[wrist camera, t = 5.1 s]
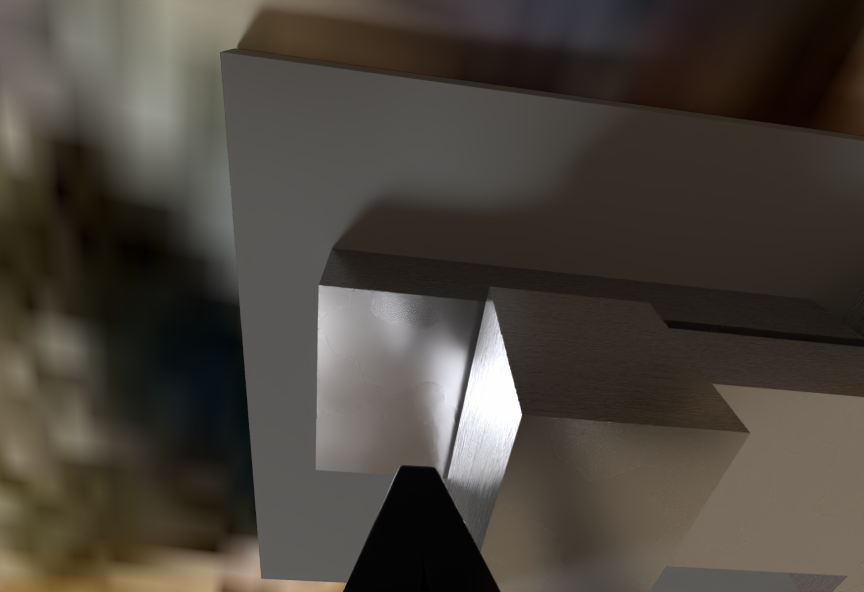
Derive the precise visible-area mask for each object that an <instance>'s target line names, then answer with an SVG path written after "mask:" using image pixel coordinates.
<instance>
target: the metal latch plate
mask: <svg viewBox="0 0 864 592" xmlns="http://www.w3.org/2000/svg"><path fill="white" fill-rule="evenodd" d="M446 488H447V489H448V491H449V493H450V495H451V497H452V499H453V501H454V503H455V505H456V507H457V509H458V511H459V512H460V514H461V516H462V518H463V520H464V522H465V524H466V526H467V528H468V530H469V532H470V534H471V535H472V537H473V539H474V541H475V543H476V545H477V547H478V549H479V551H480V553H481V555H482V557H483V558H484V560H485V562H486V564H487V566H488V568H489V570H490V572H491V574H492V576H493V578H494V580H495V581H496V583H497V585H498V587H499V589H500V591H501V592H650V590H651V589H652V587H653V586H654V584H655V582H656V581H657V579H658V578H659V576H660V575H661V573H662V571H663V570H664V568H665V567H666V566H672V567H691V568H710V569H729V570H747V571H766V572H785V573H788V574H789V575H790V577H791V578H792V580H793V582H794V583H795V585H796V586H797V588H798V589H799V591H800V592H864V347H857V346H847V345H836V344H826V343H816V342H806V341H796V340H785V339H775V338H765V337H755V336H745V335H734V334H724V333H714V332H704V331H694V330H683V329H673V328H668V326H667V325H666V324H665V323H664V321H663V320H662V319H661V317H660V316H659V315H658V314H657V312H656V311H655V310H654V308H653V307H652V306H651V305H650V303H646V302H636V301H627V300H617V299H607V298H597V297H588V296H578V295H568V294H558V293H549V292H539V291H529V290H519V289H509V288H500V287H490V286H489V290H488V294H487V299H486V303H485V308H484V313H483V317H482V322H481V326H480V331H479V336H478V340H477V345H476V349H475V354H474V359H473V363H472V368H471V372H470V377H469V382H468V386H467V391H466V395H465V400H464V405H463V409H462V414H461V418H460V423H459V428H458V432H457V437H456V442H455V446H454V451H453V455H452V460H451V465H450V469H449V474H448V478H447V483H446Z"/></svg>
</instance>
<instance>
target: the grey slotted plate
mask: <svg viewBox="0 0 864 592" xmlns="http://www.w3.org/2000/svg"><path fill="white" fill-rule="evenodd" d="M489 286H490V287H500V288H509V289H519V290H529V291H539V292H549V293H558V294H568V295H578V296H588V297H597V298H607V299H617V300H627V301H636V302H646V303H650V305H651V306H652V307H653V308H654V310H655V311H656V312H657V314H658V315H659V316H660V317H661V319H662V320H663V321H664V323H665V324H666V325H667V326H668V328H673V329H683V330H694V331H704V332H714V333H724V334H734V335H745V336H755V337H765V338H775V339H785V340H796V341H806V342H816V343H826V344H836V345H847V346H857V347H864V285H863V287H862V288H861V290H860V291H859V293H858V294H857V296H856V298H855V299H854V301H853V302H852V304H851V305H850V307H849V308H848V310H847V311H846V313H845V314H844V316H843V317H842V319H841V320H839V319H838V318H836V317H835V316H834V315H832V314H831V313H830V312H828V311H827V310H826V309H824V308H823V307H822V306H820V305H819V304H818V303H816V302H815V301H814V300H812V299H805V298H796V297H786V296H777V295H768V294H758V293H749V292H739V291H730V290H721V289H711V288H702V287H692V286H683V285H674V284H664V283H655V282H645V281H636V280H626V279H617V278H608V277H598V276H589V275H579V274H570V273H561V272H551V271H542V270H532V269H523V268H514V267H504V266H495V265H485V264H476V263H467V262H457V261H448V260H438V259H429V258H420V257H410V256H401V255H391V254H382V253H373V252H363V251H354V250H344V249H335V248H332V249H331V252H330V254H329V257H328V260H327V263H326V266H325V269H324V271H323V274H322V277H321V280H320V283H319V294H318V356H317V418H316V470H325V471H340V472H355V473H370V474H385V475H396V472H397V470H398V468H399V467H400V466H401V465H414V466H432V467H435V468H436V469H437V471H438V472H439V474H440V476H441V478H444V479H447V478H448V474H449V469H450V465H451V460H452V455H453V451H454V446H455V442H456V437H457V432H458V428H459V423H460V418H461V414H462V409H463V405H464V400H465V395H466V391H467V386H468V382H469V377H470V372H471V368H472V363H473V359H474V354H475V349H476V345H477V340H478V336H479V331H480V326H481V322H482V317H483V313H484V308H485V303H486V299H487V294H488V290H489Z"/></svg>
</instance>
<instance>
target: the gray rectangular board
mask: <svg viewBox="0 0 864 592" xmlns="http://www.w3.org/2000/svg"><path fill="white" fill-rule="evenodd" d="M220 57H221V70H222V83H223V95H224V108H225V121H226V134H227V146H228V159H229V172H230V185H231V197H232V210H233V223H234V236H235V248H236V261H237V274H238V287H239V299H240V312H241V325H242V338H243V350H244V363H245V376H246V389H247V401H248V414H249V427H250V440H251V453H252V465H253V478H254V491H255V504H256V516H257V529H258V542H259V555H260V567H261V579H280V580H301V581H322V582H344V583H347V582H348V580H349V577H350V575H351V573H352V571H353V569H354V566H355V564H356V562H357V560H358V557H359V555H360V553H361V551H362V548H363V546H364V544H365V542H366V540H367V537H368V535H369V533H370V531H371V528H372V526H373V524H374V522H375V519H376V517H377V515H378V513H379V510H380V508H381V506H382V504H383V502H384V499H385V497H386V495H387V493H388V490H389V488H390V486H391V484H392V481H393V479H394V477H395V475H385V474H370V473H355V472H340V471H325V470H316V418H317V356H318V294H319V283H320V280H321V277H322V274H323V271H324V269H325V266H326V263H327V260H328V257H329V254H330V252H331V249H332V248H335V249H344V250H354V251H363V252H373V253H382V254H391V255H401V256H410V257H420V258H429V259H438V260H448V261H457V262H467V263H476V264H485V265H495V266H504V267H514V268H523V269H532V270H542V271H551V272H561V273H570V274H579V275H589V276H598V277H608V278H617V279H626V280H636V281H645V282H655V283H664V284H674V285H683V286H692V287H702V288H711V289H721V290H730V291H739V292H749V293H758V294H768V295H777V296H786V297H796V298H805V299H812V300H814V301H815V302H816V303H818V304H819V305H820V306H822V307H823V308H824V309H826V310H827V311H828V312H830V313H831V314H832V315H834V316H835V317H836V318H838V319H839V320H841V319H842V317H843V316H844V314H845V313H846V311H847V310H848V308H849V307H850V305H851V304H852V302H853V301H854V299H855V298H856V296H857V294H858V293H859V291H860V290H861V288H862V287H863V285H864V136H860V135H853V134H845V133H838V132H831V131H824V130H817V129H810V128H802V127H795V126H788V125H781V124H774V123H766V122H759V121H752V120H745V119H738V118H731V117H723V116H716V115H709V114H702V113H695V112H687V111H680V110H673V109H666V108H659V107H652V106H644V105H637V104H630V103H623V102H616V101H608V100H601V99H594V98H587V97H580V96H572V95H565V94H558V93H551V92H544V91H537V90H529V89H522V88H515V87H508V86H501V85H493V84H486V83H479V82H472V81H465V80H458V79H450V78H443V77H436V76H429V75H422V74H414V73H407V72H400V71H393V70H386V69H379V68H371V67H364V66H357V65H350V64H343V63H335V62H328V61H321V60H314V59H307V58H300V57H292V56H285V55H278V54H271V53H264V52H256V51H249V50H242V49H231V50H227V51H222V52H220ZM442 480H443V482H444V484H445V486H446V483H447V479H444V478H442ZM650 592H800V591H799V589H798V588H797V586H796V585H795V583H794V582H793V580H792V578H791V577H790V575H789V574H788V573H785V572H766V571H747V570H729V569H710V568H691V567H672V566H666V567H665V568H664V570H663V571H662V573H661V575H660V576H659V578H658V579H657V581H656V582H655V584H654V586H653V587H652V589H651V590H650Z"/></svg>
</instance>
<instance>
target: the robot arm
mask: <svg viewBox="0 0 864 592" xmlns="http://www.w3.org/2000/svg"><path fill="white" fill-rule="evenodd" d="M343 592H501V591H500V589H499V587H498V585H497V583H496V581H495V580H494V578H493V576H492V574H491V572H490V570H489V568H488V566H487V564H486V562H485V560H484V558H483V557H482V555H481V553H480V551H479V549H478V547H477V545H476V543H475V541H474V539H473V537H472V535H471V534H470V532H469V530H468V528H467V526H466V524H465V522H464V520H463V518H462V516H461V514H460V512H459V511H458V509H457V507H456V505H455V503H454V501H453V499H452V497H451V495H450V493H449V491H448V489H447V488H446V486H445V484H444V482H443V480H442V478H441V476H440V474H439V472H438V471H437V469H436V468H435V467H432V466H414V465H401V466H400V467H399V468H398V470H397V472H396V475H395V477H394V479H393V481H392V484H391V486H390V488H389V490H388V493H387V495H386V497H385V499H384V502H383V504H382V506H381V508H380V510H379V513H378V515H377V517H376V519H375V522H374V524H373V526H372V528H371V531H370V533H369V535H368V537H367V540H366V542H365V544H364V546H363V548H362V551H361V553H360V555H359V557H358V560H357V562H356V564H355V566H354V569H353V571H352V573H351V575H350V577H349V580H348V582H347V584H346V586H345V589H344V591H343Z"/></svg>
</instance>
